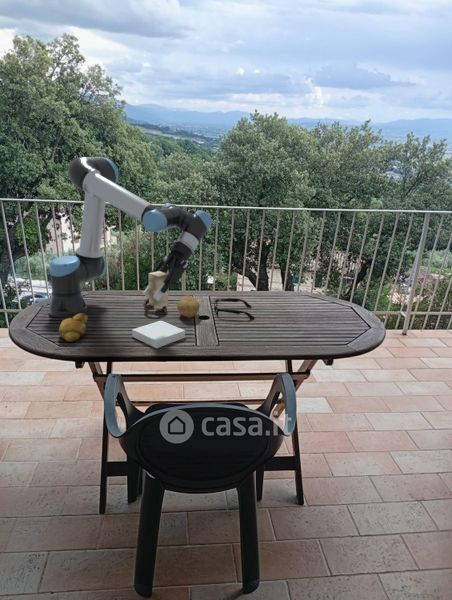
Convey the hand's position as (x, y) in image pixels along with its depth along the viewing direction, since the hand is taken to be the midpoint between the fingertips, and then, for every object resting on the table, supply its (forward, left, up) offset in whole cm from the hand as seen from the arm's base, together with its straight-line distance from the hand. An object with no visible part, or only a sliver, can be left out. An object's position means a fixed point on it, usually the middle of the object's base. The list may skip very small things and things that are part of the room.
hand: (150, 297), depth 153 cm
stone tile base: (0, +4, -17) cm, 17 cm away
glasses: (+1, +46, -18) cm, 49 cm away
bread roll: (-22, -19, -17) cm, 34 cm away
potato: (-9, +28, -17) cm, 34 cm away
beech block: (0, +4, -4) cm, 5 cm away
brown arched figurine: (-23, +21, -17) cm, 36 cm away
